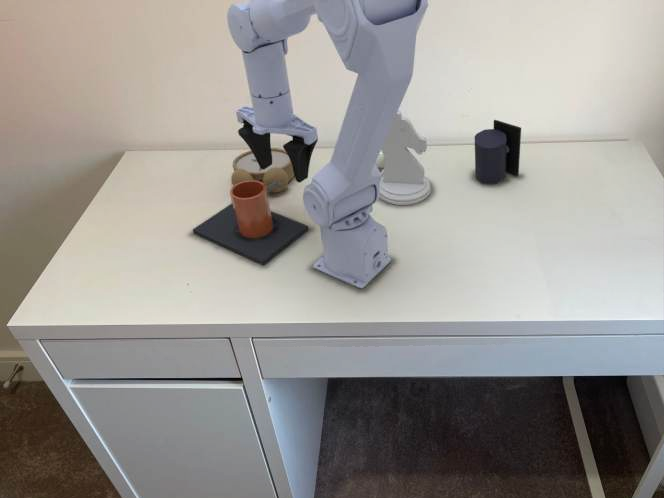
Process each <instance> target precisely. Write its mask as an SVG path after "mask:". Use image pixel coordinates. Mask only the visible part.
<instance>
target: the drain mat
mask: <svg viewBox="0 0 664 498" xmlns="http://www.w3.org/2000/svg"><path fill="white" fill-rule="evenodd" d="M271 215H272V220H273V229H272V231H271V232H270V233H269V234H267V235H265V236H262V237H259V238H248V237H245V236H243V235H242V234H241V233H240V231H239V228H238V224H237V220H236V216H235V212H234V208H233V204H232V203H230V204H228V205H227V206H226V207H224V208H223V209H221V210H220V211H217V213H215V214H214V215H212V216H211V217H209V218H208V219H206V220H205V221H203V222H202V223H200V224H198V225H197V226H196V227H193V228H192V233H193V234H194V235H196V236H198V237H200V238H203V239H205V240H207V241H209V242H212V243H214V244H216V245H218V246H220V247H222V248H224V249H226V250H229V251H231V252H234V253H236V254H238V255H240V256H242V257H243V258H246V259H248V260H250V261H253V262H254V263H257V264H259V265H261V266H264V265H266V264H267V263H268V262H270V261H271V260H272V259H274V258H275V257H276V256H277V255H279V254H280V253H282V251H284V250H285V249H286V248H287V247H289V246H290V245H291V244H292V243H294V242H295V241H296V240H297V239H299V238H300V237H301V236H302V235H304V234H305V233H306V232H308V231H309V226H308V225H307V224H304V223H301V222H299V221H297V220H294V219H292V218H289V217H286V216H284V215H282V214H279V213H276V212H274V211H271Z"/></svg>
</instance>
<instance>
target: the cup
mask: <svg viewBox="0 0 664 498" xmlns="http://www.w3.org/2000/svg"><path fill="white" fill-rule="evenodd" d="M229 195H230V199H231V204H233V208H234V212H235V216H236V220H237V224H238V228H239V231H240V233H241V234H242V235H243V236H245V237H248V238H259V237H262V236H265V235H267V234H269V233H270V232H271V231H272V229H273V220H272V215H271V212H272V209H271V205H270V201H269V196H268V191H267V190H266V185H265V184H264V183H263V182H260V181H257V180H248V181H243V182H240V183H237V184H236V185H234V186H233V185H232V187H231V188H230V189H229Z"/></svg>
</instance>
